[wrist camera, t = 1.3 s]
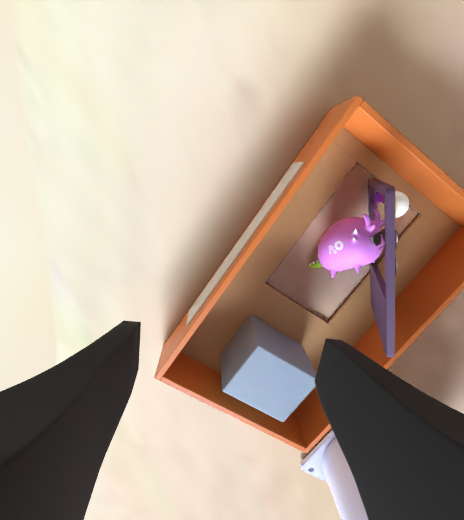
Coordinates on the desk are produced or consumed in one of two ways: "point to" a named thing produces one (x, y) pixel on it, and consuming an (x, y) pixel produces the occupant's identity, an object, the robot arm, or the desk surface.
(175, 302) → the desk surface
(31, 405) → the robot arm
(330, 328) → the wooden tray
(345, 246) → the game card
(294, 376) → the small cube
